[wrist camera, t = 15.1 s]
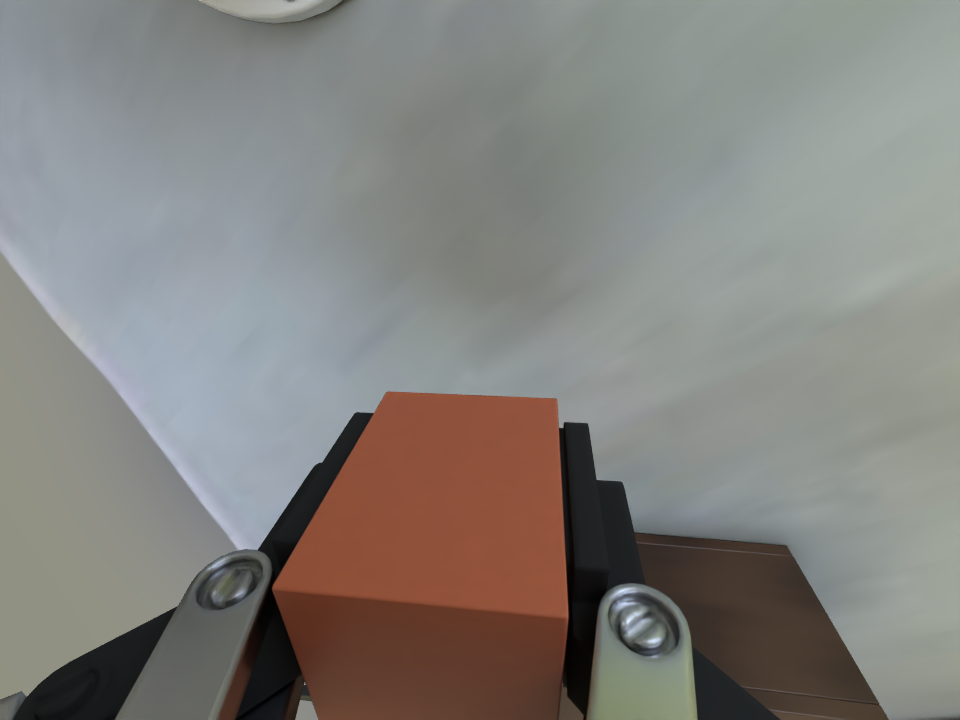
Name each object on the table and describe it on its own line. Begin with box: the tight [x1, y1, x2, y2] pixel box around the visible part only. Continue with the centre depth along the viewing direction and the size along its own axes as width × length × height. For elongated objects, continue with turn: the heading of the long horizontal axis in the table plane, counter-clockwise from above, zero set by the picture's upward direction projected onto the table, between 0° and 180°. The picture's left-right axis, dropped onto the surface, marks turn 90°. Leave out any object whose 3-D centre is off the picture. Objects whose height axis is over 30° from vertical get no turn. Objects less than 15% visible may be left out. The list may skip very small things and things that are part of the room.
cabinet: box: [559, 533, 889, 720], centre depth 26 cm, size 15×13×9 cm
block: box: [272, 392, 569, 720], centre depth 9 cm, size 4×4×5 cm
